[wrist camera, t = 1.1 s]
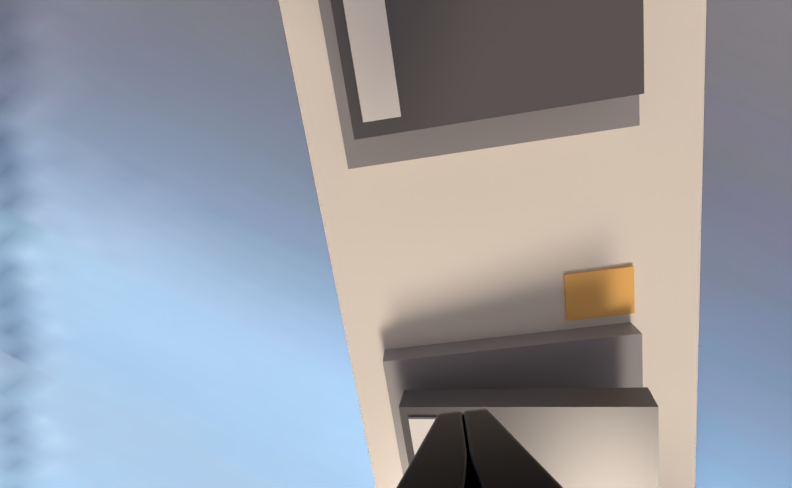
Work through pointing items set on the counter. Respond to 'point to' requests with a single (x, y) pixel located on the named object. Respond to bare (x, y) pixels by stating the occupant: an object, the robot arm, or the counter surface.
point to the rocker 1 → (482, 58)
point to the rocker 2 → (559, 429)
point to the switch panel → (518, 239)
